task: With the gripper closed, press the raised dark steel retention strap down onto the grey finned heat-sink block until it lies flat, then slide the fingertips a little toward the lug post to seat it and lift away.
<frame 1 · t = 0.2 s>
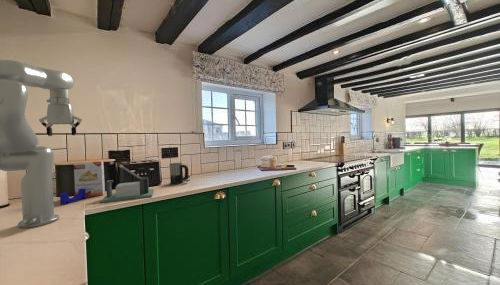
hand: (62, 135, 116), 37 cm above the worktop, tool pointing down, fingers open, 9 cm apart
heatsink board: (129, 196, 133), on the worktop
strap: (131, 173, 133), point 13 cm above the worktop, hinge at 40.0°
milk frother: (180, 182, 172), on the worktop
cable clip: (72, 202, 126), on the worktop
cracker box: (90, 196, 138), on the worktop
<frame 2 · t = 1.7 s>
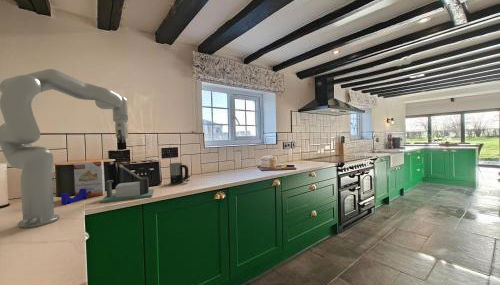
hand: (122, 149, 132), 28 cm above the worktop, tool pointing down, fingers open, 6 cm apart
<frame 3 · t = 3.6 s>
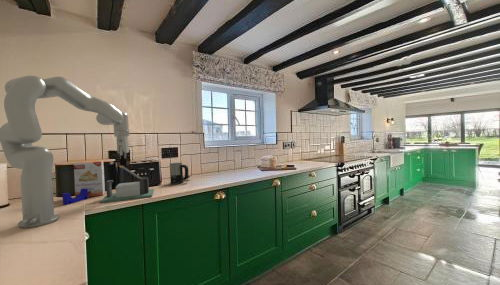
hand: (123, 165, 132), 18 cm above the worktop, tool pointing down, fingers closed
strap: (131, 173, 133), point 13 cm above the worktop, hinge at 40.0°, touching gripper
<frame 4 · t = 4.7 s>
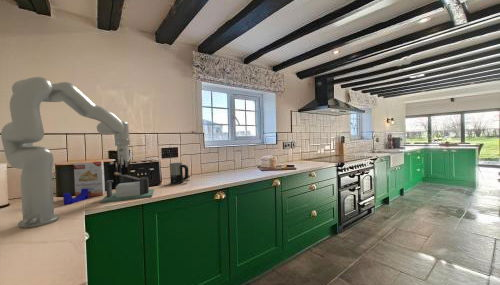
hand: (125, 173, 133), 13 cm above the worktop, tool pointing down, fingers closed
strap: (129, 176, 133), point 11 cm above the worktop, hinge at 21.4°, touching gripper
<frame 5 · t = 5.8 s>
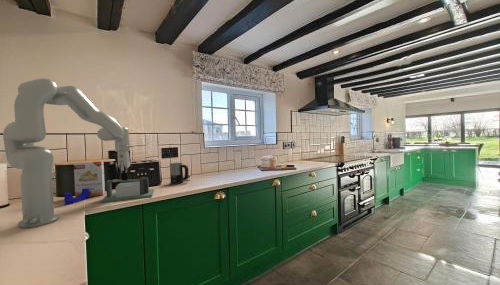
hand: (124, 179, 133), 10 cm above the worktop, tool pointing down, fingers closed
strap: (128, 180, 133), point 9 cm above the worktop, hinge at 5.0°, touching gripper
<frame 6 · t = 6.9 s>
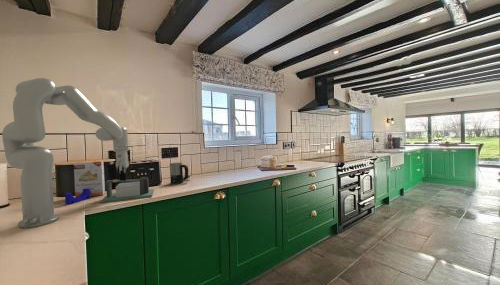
hand: (123, 179, 132), 10 cm above the worktop, tool pointing down, fingers closed
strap: (128, 180, 133), point 9 cm above the worktop, hinge at 4.6°, touching gripper
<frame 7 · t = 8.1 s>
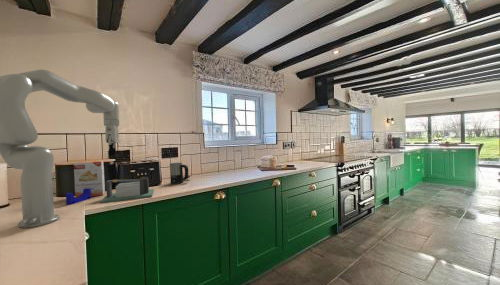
hand: (112, 155, 129), 25 cm above the worktop, tool pointing down, fingers closed
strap: (128, 180, 133), point 9 cm above the worktop, hinge at 4.6°
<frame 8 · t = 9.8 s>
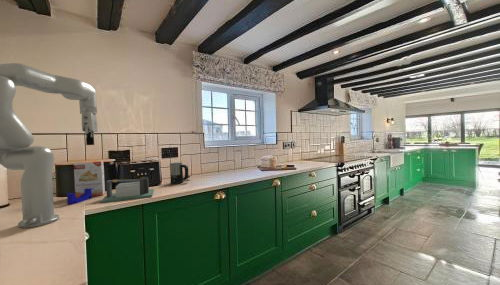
hand: (90, 144, 123), 31 cm above the worktop, tool pointing down, fingers closed
at the end: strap at +5° (first picture: +40°) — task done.
